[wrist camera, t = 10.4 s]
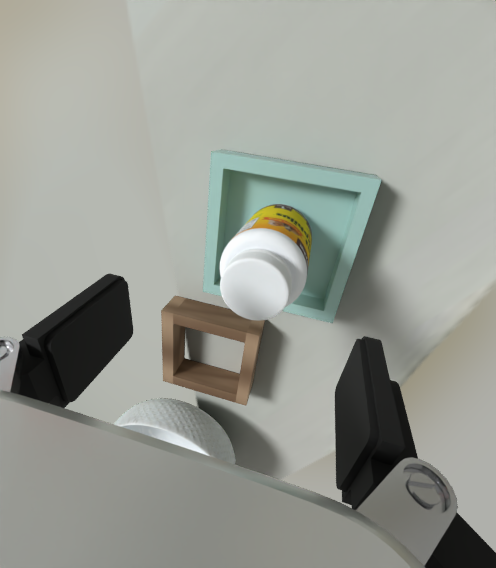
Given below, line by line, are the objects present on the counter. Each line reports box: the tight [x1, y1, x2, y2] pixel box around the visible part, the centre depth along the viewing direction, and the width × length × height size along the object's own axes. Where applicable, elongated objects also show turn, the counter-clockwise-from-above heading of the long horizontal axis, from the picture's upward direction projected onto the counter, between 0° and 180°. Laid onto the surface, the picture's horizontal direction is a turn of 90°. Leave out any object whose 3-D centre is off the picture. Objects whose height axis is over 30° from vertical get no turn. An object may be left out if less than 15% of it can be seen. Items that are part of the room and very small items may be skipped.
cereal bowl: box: [114, 398, 236, 465], centre depth 38 cm, size 17×17×7 cm
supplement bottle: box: [220, 204, 312, 321], centre depth 20 cm, size 6×6×10 cm
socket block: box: [161, 296, 265, 405], centre depth 31 cm, size 10×10×3 cm
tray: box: [203, 150, 381, 323], centre depth 24 cm, size 12×12×2 cm
